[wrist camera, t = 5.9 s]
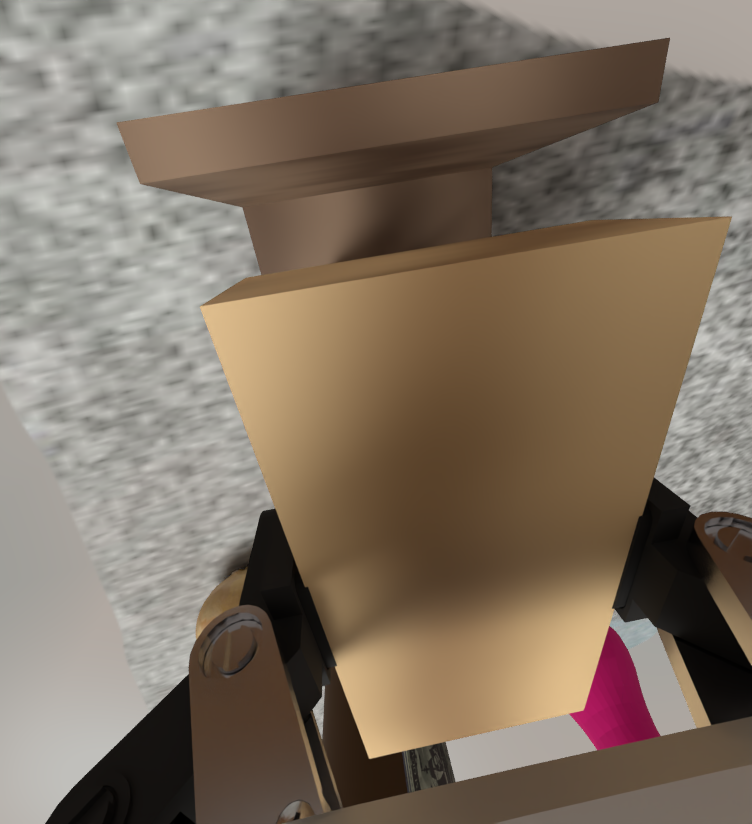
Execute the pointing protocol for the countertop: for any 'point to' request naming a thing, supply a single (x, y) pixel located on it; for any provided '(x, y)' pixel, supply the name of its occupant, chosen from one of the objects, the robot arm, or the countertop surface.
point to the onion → (221, 599)
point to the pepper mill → (615, 700)
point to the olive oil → (379, 774)
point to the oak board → (467, 454)
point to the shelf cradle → (386, 151)
